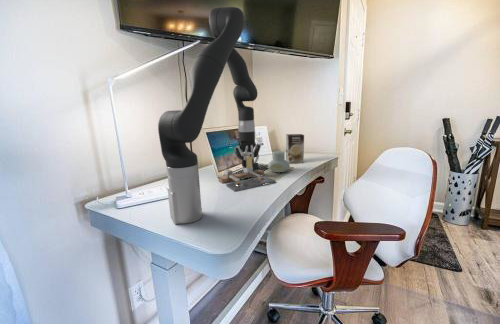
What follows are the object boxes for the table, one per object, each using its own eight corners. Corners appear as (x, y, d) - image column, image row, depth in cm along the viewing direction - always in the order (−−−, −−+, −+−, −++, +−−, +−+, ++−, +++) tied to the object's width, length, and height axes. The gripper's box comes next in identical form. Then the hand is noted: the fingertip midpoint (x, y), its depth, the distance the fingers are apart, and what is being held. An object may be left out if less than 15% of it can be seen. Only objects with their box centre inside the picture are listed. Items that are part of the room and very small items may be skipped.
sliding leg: (257, 180, 112) (256, 161, 110) (243, 173, 123) (242, 156, 122) (263, 179, 114) (262, 160, 112) (248, 172, 125) (248, 155, 123)
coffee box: (288, 163, 146) (288, 135, 142) (285, 161, 152) (285, 134, 149) (303, 163, 146) (304, 135, 143) (301, 160, 153) (301, 133, 149)
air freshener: (290, 169, 133) (290, 150, 131) (288, 174, 126) (288, 154, 123) (270, 169, 137) (269, 150, 134) (266, 173, 129) (266, 153, 127)
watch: (248, 167, 142) (247, 147, 139) (261, 168, 137) (260, 148, 135) (242, 169, 137) (241, 149, 134) (255, 171, 133) (255, 150, 130)
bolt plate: (234, 191, 104) (234, 188, 103) (226, 186, 111) (226, 183, 110) (275, 182, 113) (275, 180, 113) (265, 178, 120) (265, 176, 120)
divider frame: (230, 189, 107) (230, 177, 106) (218, 181, 118) (218, 170, 117) (274, 180, 117) (274, 169, 116) (259, 173, 128) (259, 163, 127)
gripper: (236, 132, 111) (238, 170, 115) (264, 129, 118) (264, 166, 122) (229, 131, 118) (231, 167, 122) (255, 128, 124) (256, 163, 128)
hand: (248, 166), depth 122 cm, fingers closed on sliding leg, 3 cm apart
